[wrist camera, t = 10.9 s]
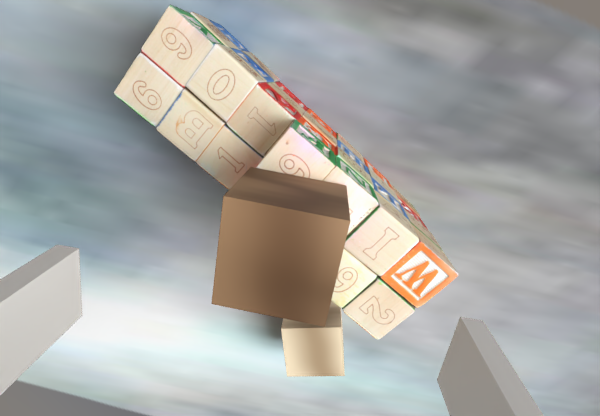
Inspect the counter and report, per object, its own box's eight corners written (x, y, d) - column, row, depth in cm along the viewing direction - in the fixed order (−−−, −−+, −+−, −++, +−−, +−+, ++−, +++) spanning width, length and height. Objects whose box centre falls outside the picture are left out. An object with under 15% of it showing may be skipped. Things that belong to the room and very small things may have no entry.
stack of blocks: (174, 87, 30) (75, 93, 19) (220, 23, 28) (142, -15, 17) (363, 252, 34) (378, 345, 22) (415, 205, 32) (462, 278, 20)
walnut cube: (239, 252, 21) (211, 303, 16) (250, 166, 19) (223, 196, 14) (327, 270, 21) (324, 326, 16) (346, 185, 19) (350, 221, 14)
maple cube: (293, 338, 37) (287, 376, 33) (287, 295, 36) (281, 328, 31) (343, 337, 37) (344, 375, 32) (340, 293, 35) (341, 327, 30)
